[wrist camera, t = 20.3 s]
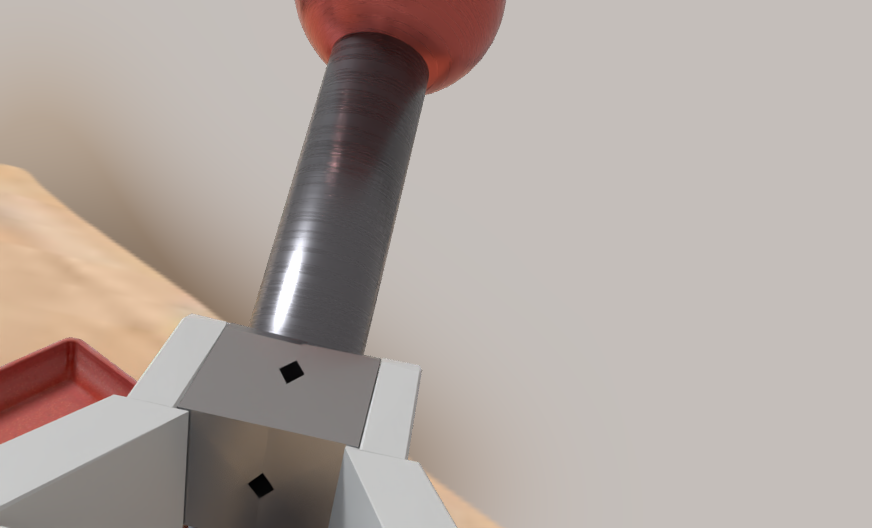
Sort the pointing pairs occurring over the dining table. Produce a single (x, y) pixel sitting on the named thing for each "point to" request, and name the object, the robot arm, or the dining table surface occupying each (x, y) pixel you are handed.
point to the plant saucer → (55, 385)
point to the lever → (360, 156)
